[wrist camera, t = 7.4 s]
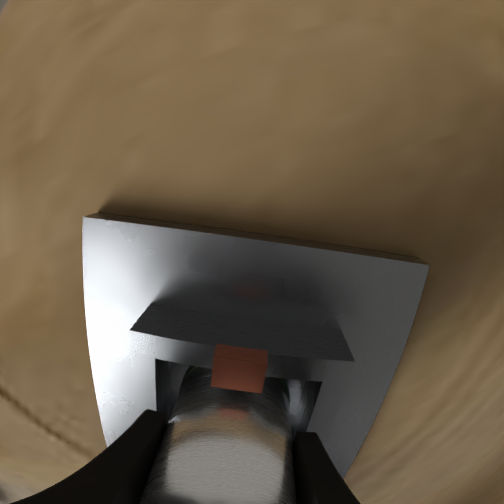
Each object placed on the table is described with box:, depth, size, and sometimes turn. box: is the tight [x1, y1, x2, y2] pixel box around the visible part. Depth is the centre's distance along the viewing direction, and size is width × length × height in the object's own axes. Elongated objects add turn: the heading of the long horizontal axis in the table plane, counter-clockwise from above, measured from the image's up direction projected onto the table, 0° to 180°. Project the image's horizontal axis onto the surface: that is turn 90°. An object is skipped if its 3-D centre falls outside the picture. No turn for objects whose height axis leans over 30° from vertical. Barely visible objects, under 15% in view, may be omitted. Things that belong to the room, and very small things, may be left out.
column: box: [140, 366, 296, 504], centre depth 9 cm, size 4×4×6 cm
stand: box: [83, 213, 430, 478], centre depth 11 cm, size 12×12×4 cm
